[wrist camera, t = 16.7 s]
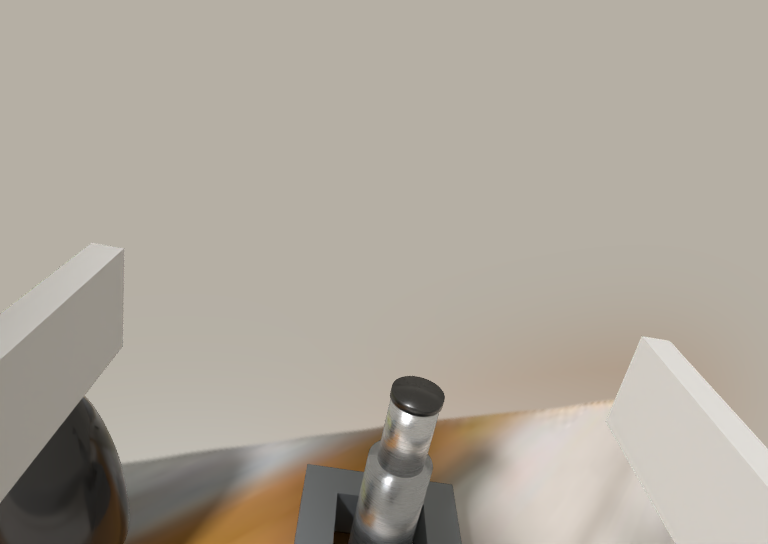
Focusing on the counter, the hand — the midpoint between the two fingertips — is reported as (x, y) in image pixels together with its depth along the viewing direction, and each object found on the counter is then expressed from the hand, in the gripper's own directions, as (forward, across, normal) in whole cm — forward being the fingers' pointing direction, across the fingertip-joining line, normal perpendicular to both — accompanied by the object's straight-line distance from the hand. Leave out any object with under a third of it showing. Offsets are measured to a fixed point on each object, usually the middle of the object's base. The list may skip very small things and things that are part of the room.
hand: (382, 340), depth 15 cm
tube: (+18, +5, -30) cm, 35 cm away
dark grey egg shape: (+15, -17, -30) cm, 38 cm away
